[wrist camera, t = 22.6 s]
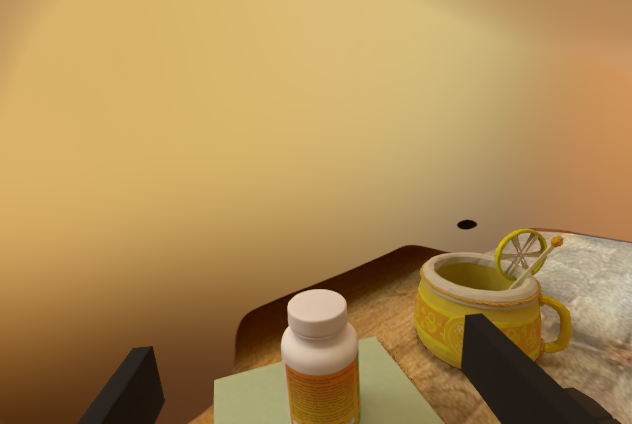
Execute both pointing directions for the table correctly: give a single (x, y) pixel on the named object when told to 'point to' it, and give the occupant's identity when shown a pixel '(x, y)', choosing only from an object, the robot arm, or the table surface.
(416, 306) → the mug
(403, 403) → the light mat
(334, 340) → the supplement bottle
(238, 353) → the table surface
